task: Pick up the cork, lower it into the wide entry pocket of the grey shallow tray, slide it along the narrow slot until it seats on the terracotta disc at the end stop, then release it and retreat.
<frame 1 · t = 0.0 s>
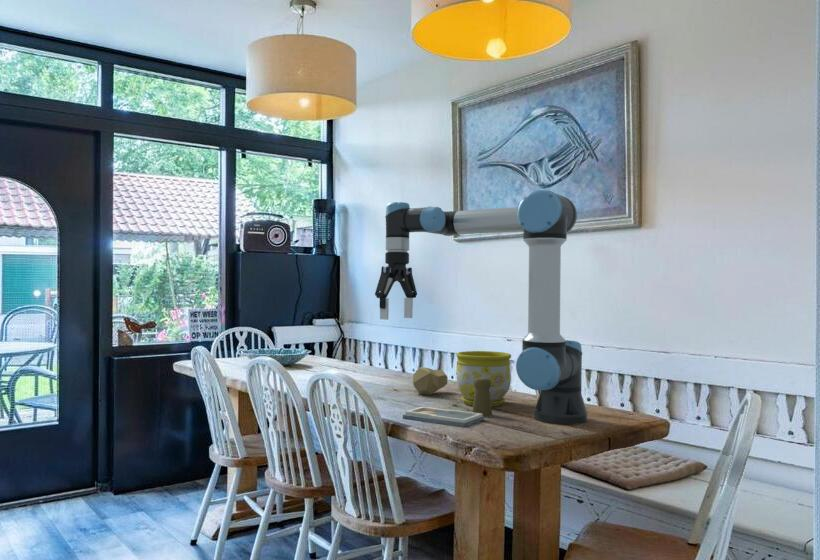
hand: (396, 318, 203), 28 cm above the table, fingers open, 13 cm apart
low-poly potato: (430, 394, 230), on the table
flowerpot: (483, 403, 211), on the table
cork: (481, 414, 193), on the table
grey shallow tray: (443, 418, 185), on the table
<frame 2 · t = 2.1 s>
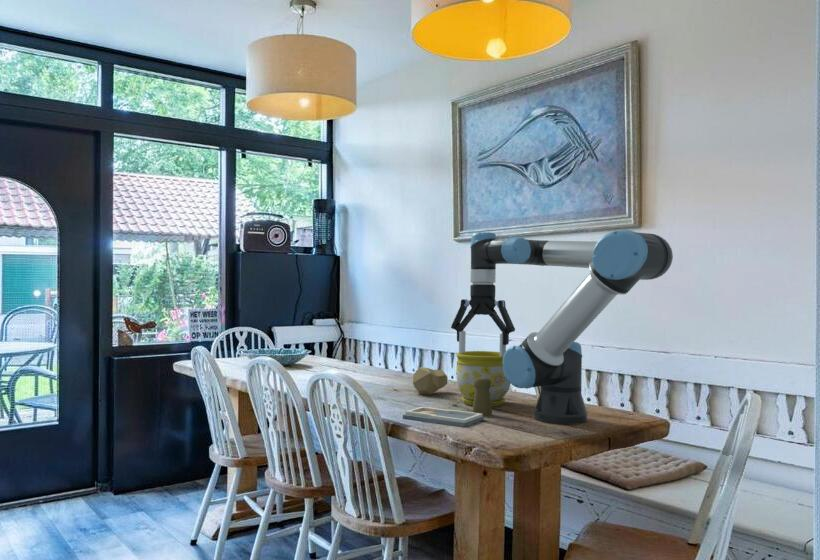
hand: (482, 354, 193), 18 cm above the table, fingers open, 13 cm apart
nothing on the table moved.
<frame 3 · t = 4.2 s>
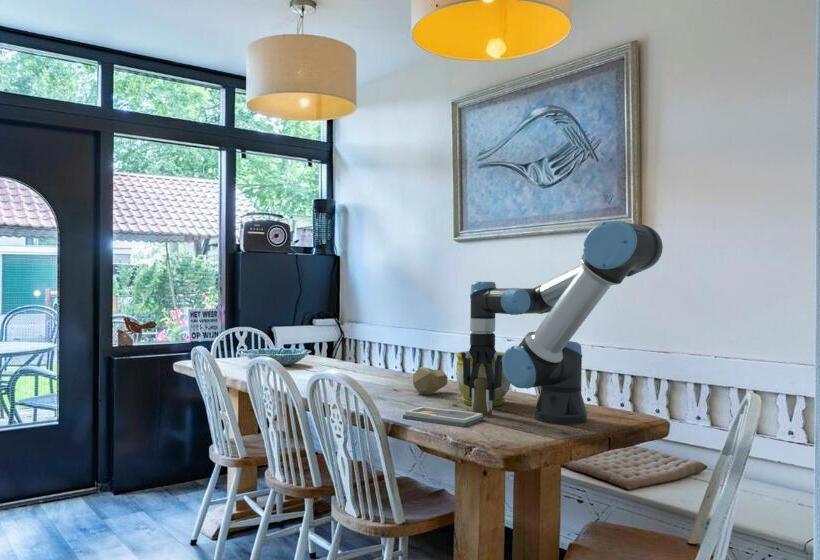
hand: (481, 410, 193), 1 cm above the table, fingers closed on cork, 4 cm apart
cork: (481, 414, 193), on the table, touching gripper
everything else where it was.
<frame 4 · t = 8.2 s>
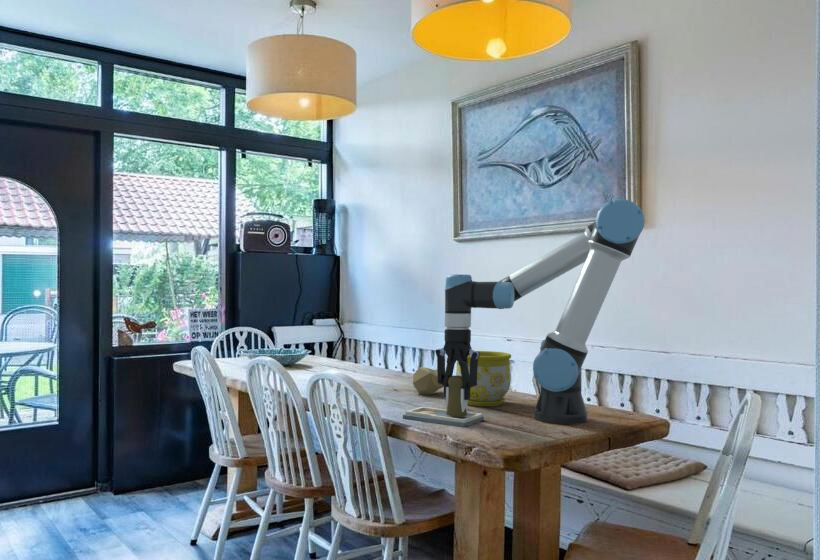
hand: (456, 410, 183), 3 cm above the table, fingers closed on cork, 4 cm apart
cork: (456, 415, 183), point 2 cm above the table, touching gripper
everything else where it was.
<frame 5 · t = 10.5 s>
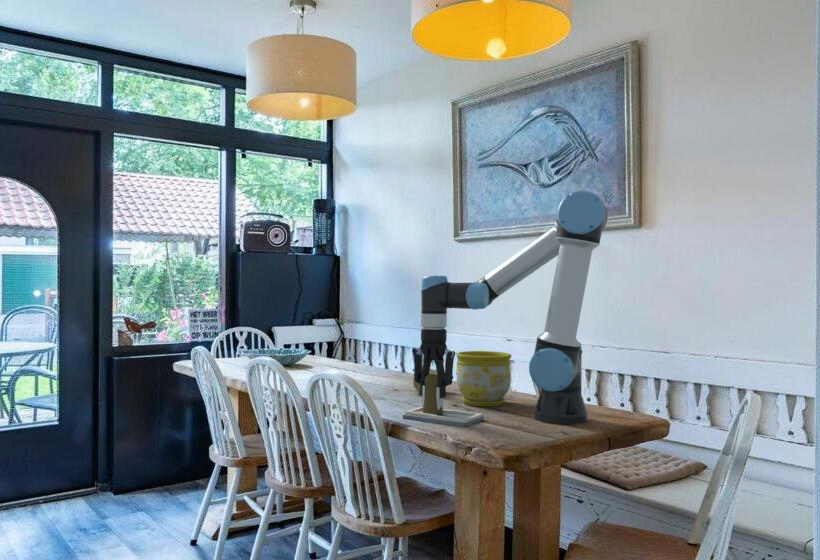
hand: (432, 408, 187), 3 cm above the table, fingers closed on cork, 4 cm apart
cork: (432, 413, 187), point 1 cm above the table, touching gripper
everything else where it was.
when the fingers open (2 cm above the table, at t = 12.1 s): cork stays where it is, resting on grey shallow tray.
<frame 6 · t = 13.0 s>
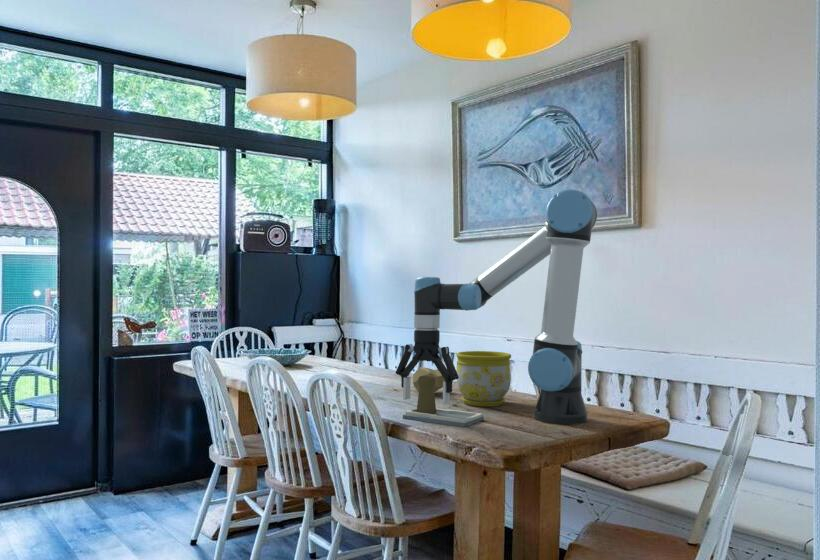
hand: (426, 401, 188), 4 cm above the table, fingers open, 13 cm apart
cork: (426, 413, 188), point 1 cm above the table, touching grey shallow tray
everything else where it was.
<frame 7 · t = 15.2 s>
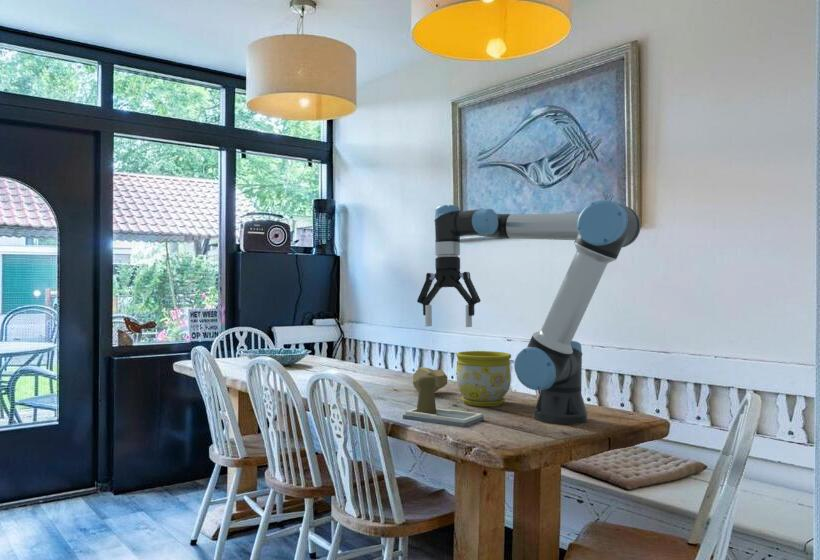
hand: (448, 326, 194), 26 cm above the table, fingers open, 13 cm apart
nothing on the table moved.
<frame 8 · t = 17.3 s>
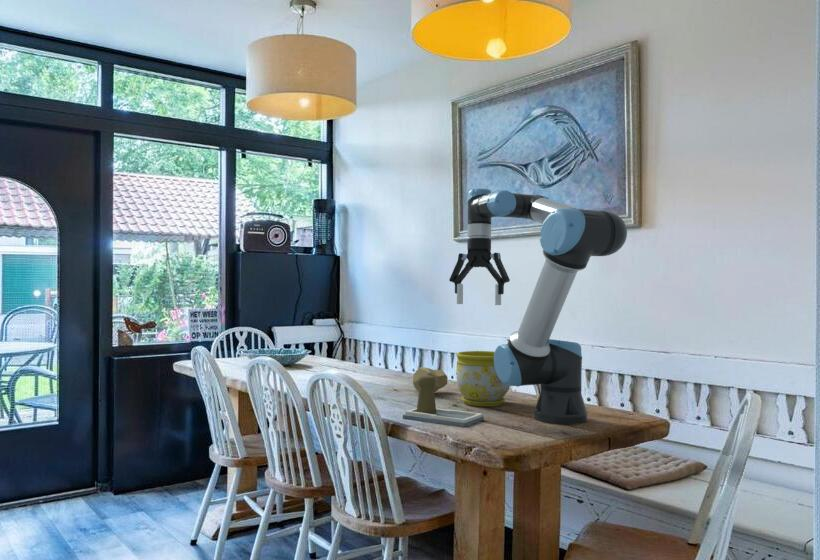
hand: (478, 304, 204), 33 cm above the table, fingers open, 13 cm apart
nothing on the table moved.
at the end: cork 0.2 cm from the target spot on the grey shallow tray, point 0.9 cm above the grey shallow tray's base; cork tilted 0°; the gripper is holding nothing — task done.
